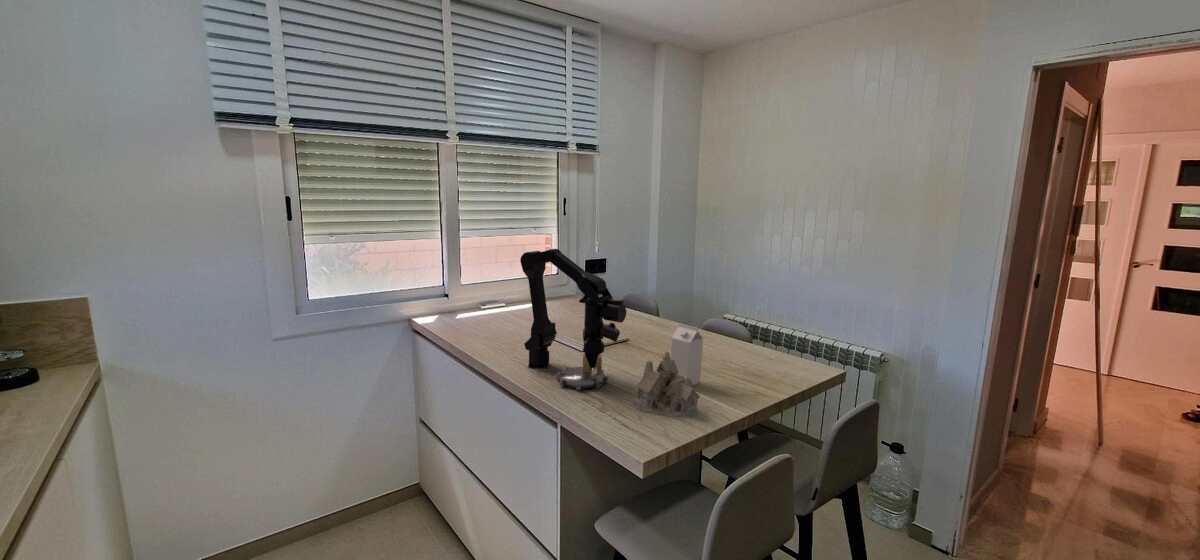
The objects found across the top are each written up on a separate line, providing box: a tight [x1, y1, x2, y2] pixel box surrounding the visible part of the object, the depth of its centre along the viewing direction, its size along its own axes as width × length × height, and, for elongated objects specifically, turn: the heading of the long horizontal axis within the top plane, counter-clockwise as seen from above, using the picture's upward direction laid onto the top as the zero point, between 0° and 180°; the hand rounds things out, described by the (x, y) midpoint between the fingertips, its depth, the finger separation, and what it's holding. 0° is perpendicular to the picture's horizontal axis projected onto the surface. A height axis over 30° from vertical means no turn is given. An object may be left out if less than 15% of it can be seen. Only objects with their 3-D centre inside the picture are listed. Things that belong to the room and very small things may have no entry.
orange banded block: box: [582, 353, 603, 373], centre depth 154 cm, size 6×4×5 cm, turn 92°
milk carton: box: [670, 322, 704, 386], centre depth 152 cm, size 7×7×19 cm
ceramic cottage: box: [632, 351, 701, 419], centre depth 134 cm, size 16×16×15 cm
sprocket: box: [555, 366, 609, 391], centre depth 151 cm, size 16×16×6 cm
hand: (592, 364), depth 154 cm, fingers open, 9 cm apart
